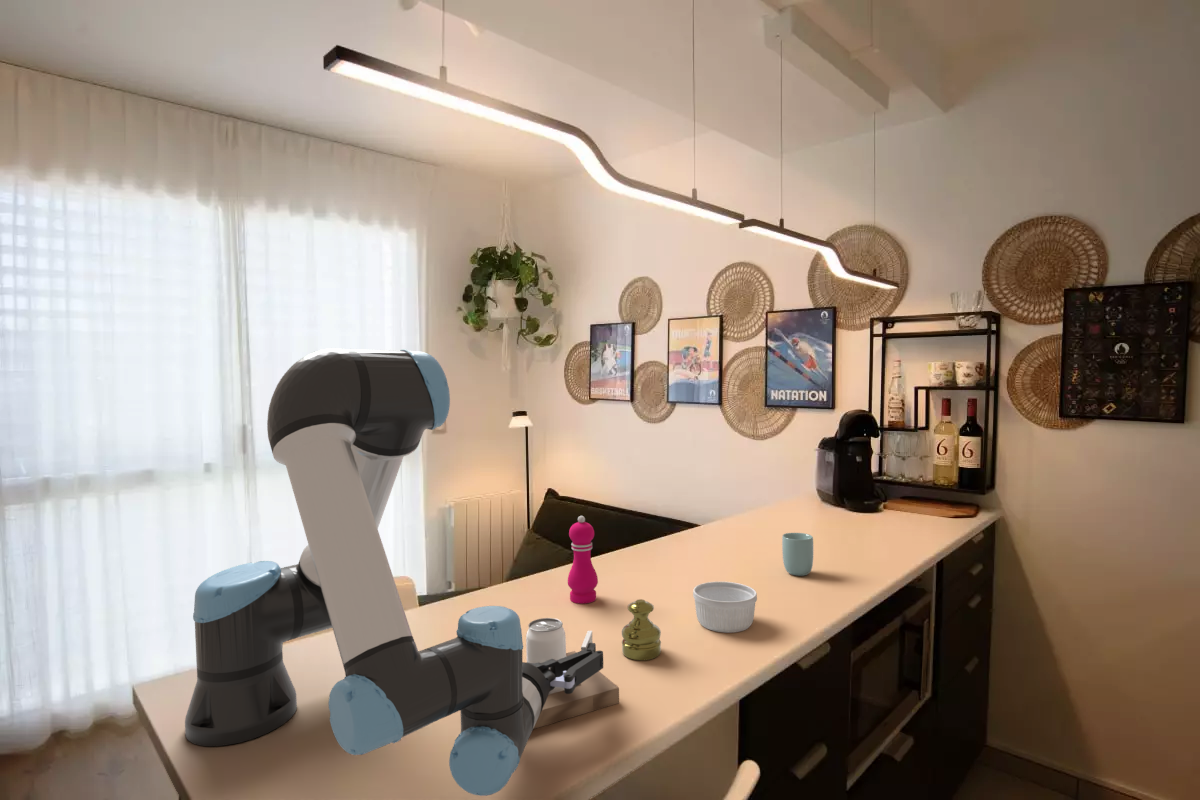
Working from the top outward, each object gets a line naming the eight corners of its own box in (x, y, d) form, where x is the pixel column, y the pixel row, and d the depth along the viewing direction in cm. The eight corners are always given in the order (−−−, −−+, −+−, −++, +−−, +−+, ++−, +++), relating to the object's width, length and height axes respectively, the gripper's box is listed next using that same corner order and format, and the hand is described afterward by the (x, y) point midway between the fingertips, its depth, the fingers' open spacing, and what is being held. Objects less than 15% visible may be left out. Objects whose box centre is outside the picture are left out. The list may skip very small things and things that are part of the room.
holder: (513, 735, 92) (513, 718, 92) (479, 689, 106) (479, 674, 106) (619, 702, 100) (618, 687, 100) (575, 664, 114) (574, 650, 114)
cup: (809, 569, 168) (809, 532, 168) (816, 578, 160) (816, 539, 160) (780, 569, 169) (779, 532, 169) (785, 578, 161) (785, 539, 161)
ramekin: (758, 614, 137) (757, 583, 137) (756, 638, 124) (755, 603, 124) (697, 609, 141) (696, 579, 140) (689, 632, 128) (689, 599, 128)
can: (547, 683, 108) (545, 614, 107) (575, 694, 103) (573, 622, 103) (519, 698, 103) (517, 625, 102) (547, 710, 98) (545, 635, 98)
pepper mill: (571, 606, 144) (569, 520, 144) (565, 596, 151) (563, 514, 151) (601, 602, 146) (600, 517, 146) (593, 592, 153) (592, 511, 153)
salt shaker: (616, 648, 121) (615, 597, 121) (650, 642, 124) (649, 592, 123) (631, 664, 114) (630, 610, 114) (667, 657, 117) (667, 604, 116)
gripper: (429, 722, 87) (480, 655, 108) (607, 733, 83) (624, 662, 104) (428, 669, 87) (479, 612, 108) (605, 677, 83) (623, 617, 104)
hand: (550, 637), depth 106 cm, fingers open, 13 cm apart
